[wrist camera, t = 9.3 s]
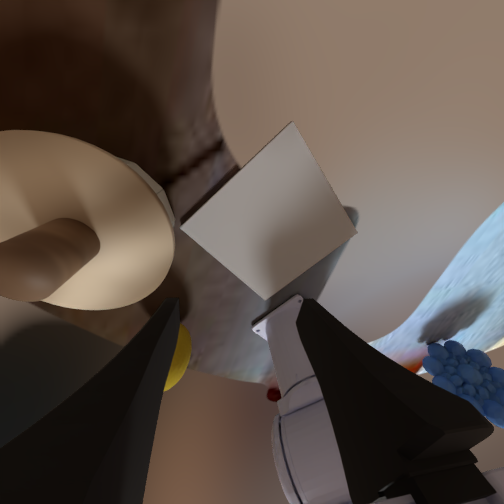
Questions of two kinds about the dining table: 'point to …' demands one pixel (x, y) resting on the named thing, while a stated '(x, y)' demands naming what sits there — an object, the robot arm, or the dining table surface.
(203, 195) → the dining table surface
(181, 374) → the lemon
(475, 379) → the grapes
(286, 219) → the mat
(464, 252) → the dining table surface
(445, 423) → the robot arm
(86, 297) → the lid
